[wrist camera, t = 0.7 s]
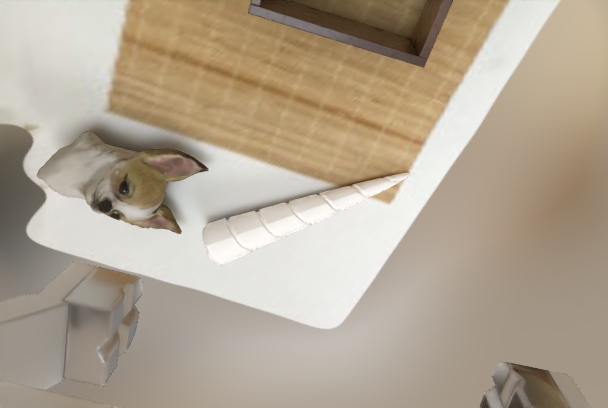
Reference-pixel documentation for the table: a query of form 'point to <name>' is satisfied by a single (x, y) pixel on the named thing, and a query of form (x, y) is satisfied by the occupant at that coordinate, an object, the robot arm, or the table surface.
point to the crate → (360, 28)
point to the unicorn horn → (284, 219)
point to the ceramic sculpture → (119, 179)
